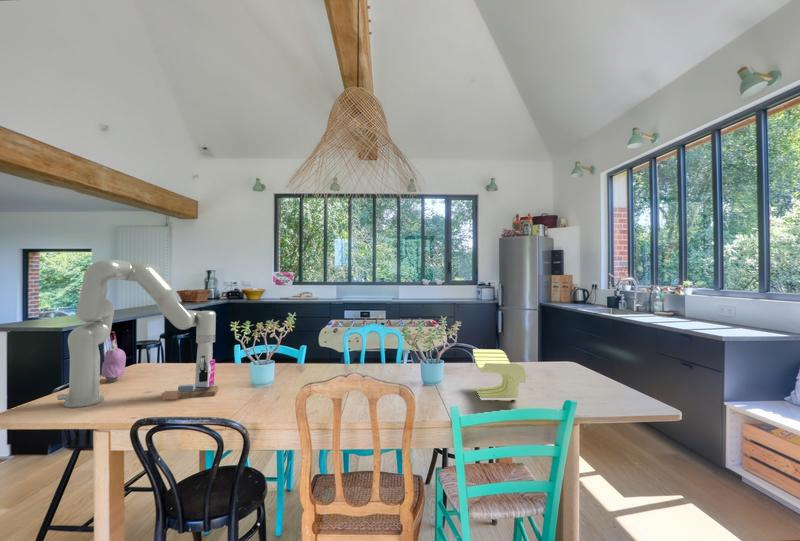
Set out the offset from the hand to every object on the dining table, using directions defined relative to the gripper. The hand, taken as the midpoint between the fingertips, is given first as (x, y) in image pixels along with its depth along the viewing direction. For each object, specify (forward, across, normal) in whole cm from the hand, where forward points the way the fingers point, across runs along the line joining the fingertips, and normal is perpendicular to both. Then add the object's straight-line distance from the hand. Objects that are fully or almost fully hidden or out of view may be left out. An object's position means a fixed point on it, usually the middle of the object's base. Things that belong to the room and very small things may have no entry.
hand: (204, 378), depth 166 cm
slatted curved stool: (+6, +40, +123) cm, 129 cm away
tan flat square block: (+7, 0, 0) cm, 7 cm away
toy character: (+7, -36, -47) cm, 60 cm away
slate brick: (+7, -6, -8) cm, 12 cm away
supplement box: (+3, 0, 0) cm, 3 cm away
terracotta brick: (+7, +3, -12) cm, 14 cm away
